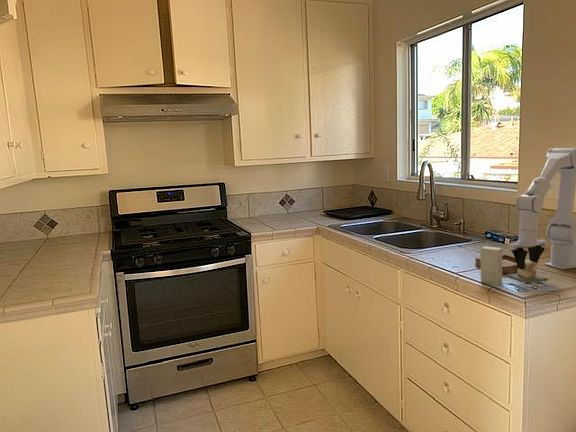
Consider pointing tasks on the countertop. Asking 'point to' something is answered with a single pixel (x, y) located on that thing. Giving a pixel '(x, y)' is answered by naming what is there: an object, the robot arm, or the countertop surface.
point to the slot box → (504, 264)
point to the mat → (526, 280)
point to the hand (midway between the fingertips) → (526, 267)
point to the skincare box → (491, 265)
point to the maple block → (528, 269)
